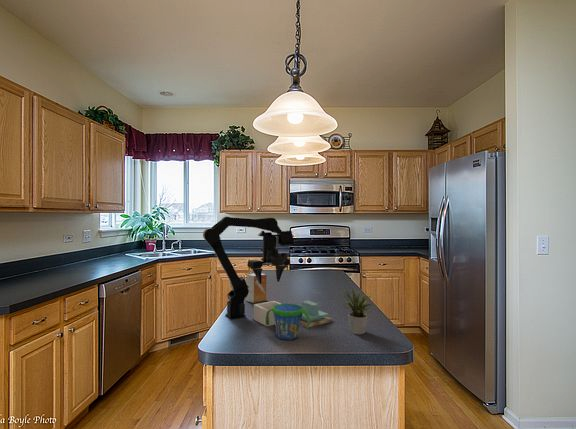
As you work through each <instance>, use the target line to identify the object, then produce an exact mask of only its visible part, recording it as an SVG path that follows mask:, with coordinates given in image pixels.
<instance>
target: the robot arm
mask: <svg viewBox="0 0 576 429" xmlns="http://www.w3.org/2000/svg"><path fill="white" fill-rule="evenodd" d="M278 224H279V223H278V221H277V219H276V218H275V217H262V218H260V217H259V218H243V217H232V216H223V217H222V218H221V219H220V220H219V221H217V222H216V223H215V224H214V225H212V226H211V227H207V228H205V229H204V231H203V233H202V237H203V240H205V242H206V243H207V244H208V245H209V246H210V248H211V249H212V250H213V251H214V253H215V255H216V257H217V259H218V262H220V265H221V267H222V269H223V271H224V272H225V274H226V276H227V278H228V281H229V284H230V288H231V290H230V291H229V292H228V293H227V294H226V296H227V299H228V301H226V313H225V316H226V317H227V318H229V319H231V320H236V319H239V318H245V317H246V305H245V300H246V297H247V295H248V293H249V290H248V288H249V286H248V285H247V284H246V279H245V278H244V277H243V276H239V275H238V273H237V272H236V270H235V267H234V266H233V264H232V262H231V261H230V258H229V257H228V254H227V253H226V250H225V249H224V247H223V243H222V239H221V235H222V234H223V233H224V231H226V230H227V229H228V228H229V227H238V228H239V227H243V228H255V229H260V230H261V231H260V232H259V233H258V234H257V236H258V237H262V248H261V250H260V251H261V252H262V257H261V258H260V260H258V259H250V260H248V262H247V267H248V268H249V269H250V270H252V271H253V274H254V273H255V275H256V278H257V280H258V282H259V284H261V273H262V272H263V268H262V267H263V266H274V267H275V273H276V274H275V276H276V282H277V283H279V282H280V281H281V277H282V274H283V272H284V270H285V269H286V268H288V267H289V266H291V260H290V259H289V258H288V254H287V253H286V252H285V253H284V252H282V253H279V249H278V248H277V245H278V246H279V247H293V246H294V243H295V239H294V235H293V230H282V229H281V227H280V226H279V225H278ZM266 231H267V232H266Z"/></svg>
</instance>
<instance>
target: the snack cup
mask: <svg viewBox="0 0 576 429" xmlns="http://www.w3.org/2000/svg"><path fill="white" fill-rule="evenodd" d="M271 310H272V311H273V313H274V319H275V324H274V325H275V327H274V328H275V334H276V337H278V338H279V339H280V340H289V341H290V340H291V341H292V340H294V339H296V338H298V337H299V331H300V326H301V325H300V321H301V317H302V313H304V314H305V316H306V317H307V319H308V327H306V330H309V328H310V327H309V326H310V318H309V315H308V313H307V312H306V311H305V310H304V309H303V308H302V305H299V304H296V303H295V304H294V303H281V304H278V305H275V306H274V307H272V308H271V309H269V310H268V312H267V314H266V325H268V324H269V317H268V315H269V312H270V311H271Z"/></svg>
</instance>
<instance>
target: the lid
mask: <svg viewBox="0 0 576 429" xmlns="http://www.w3.org/2000/svg"><path fill="white" fill-rule="evenodd" d="M301 307H302V308H303V309H304V310H305V311H306V312H307V313H308V315H309V318H310V322H312V321H316V320H320V319H324V317H329V313H327V312H324V311H321V310H320V309H319V304H318V303H317V302H313V301H310V300H304V301H301ZM301 319H302V320H304V321H307V322H308V319H307V317H306V316H305V314H304V313H302V317H301Z"/></svg>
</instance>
